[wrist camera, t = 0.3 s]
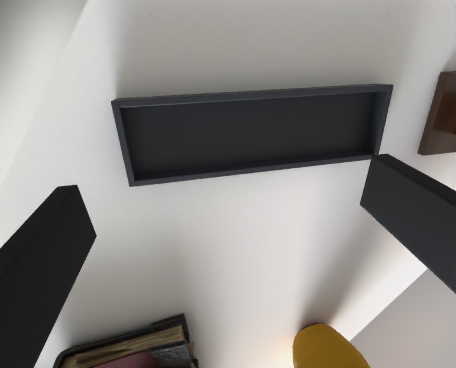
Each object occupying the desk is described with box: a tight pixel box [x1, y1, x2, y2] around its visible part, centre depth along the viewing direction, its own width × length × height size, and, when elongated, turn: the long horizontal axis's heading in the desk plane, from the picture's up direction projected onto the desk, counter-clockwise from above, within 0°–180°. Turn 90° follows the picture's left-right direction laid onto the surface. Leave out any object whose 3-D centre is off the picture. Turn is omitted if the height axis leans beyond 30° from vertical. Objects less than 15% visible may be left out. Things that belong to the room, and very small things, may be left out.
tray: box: [111, 84, 393, 187], centre depth 27 cm, size 28×8×2 cm, turn 92°
